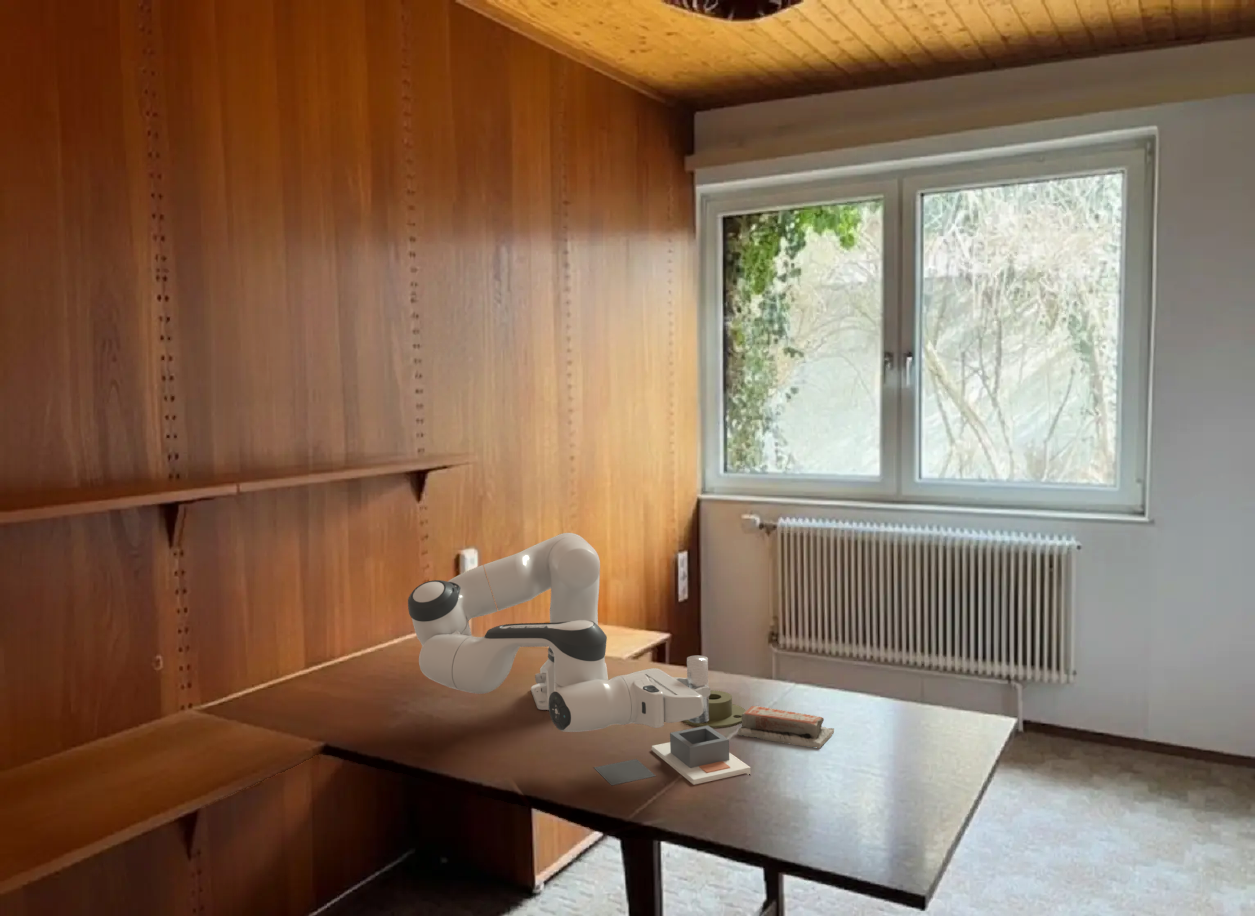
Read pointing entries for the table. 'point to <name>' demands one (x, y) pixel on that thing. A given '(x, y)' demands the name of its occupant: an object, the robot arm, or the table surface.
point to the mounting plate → (700, 755)
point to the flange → (721, 711)
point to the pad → (624, 772)
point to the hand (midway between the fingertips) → (702, 686)
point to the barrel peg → (698, 682)
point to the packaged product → (784, 727)
